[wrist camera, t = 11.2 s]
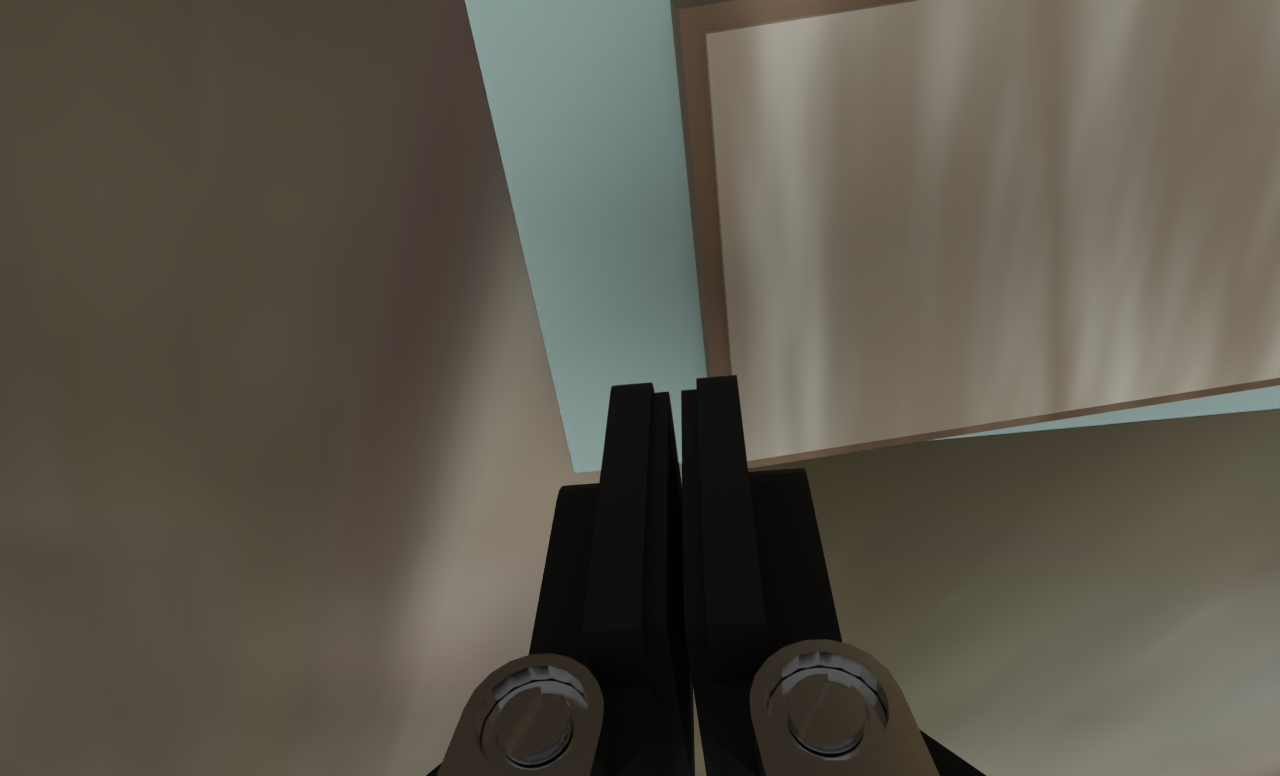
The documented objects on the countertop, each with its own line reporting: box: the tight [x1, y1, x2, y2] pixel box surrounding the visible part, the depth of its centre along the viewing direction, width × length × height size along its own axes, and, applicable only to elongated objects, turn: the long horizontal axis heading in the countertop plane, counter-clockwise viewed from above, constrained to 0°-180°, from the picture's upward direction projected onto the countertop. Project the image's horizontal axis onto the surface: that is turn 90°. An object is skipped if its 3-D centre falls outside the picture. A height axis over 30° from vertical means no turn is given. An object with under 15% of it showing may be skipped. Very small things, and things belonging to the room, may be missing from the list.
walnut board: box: [670, 0, 1280, 469], centre depth 16 cm, size 1×10×14 cm
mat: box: [465, 0, 1280, 473], centre depth 18 cm, size 20×14×1 cm
